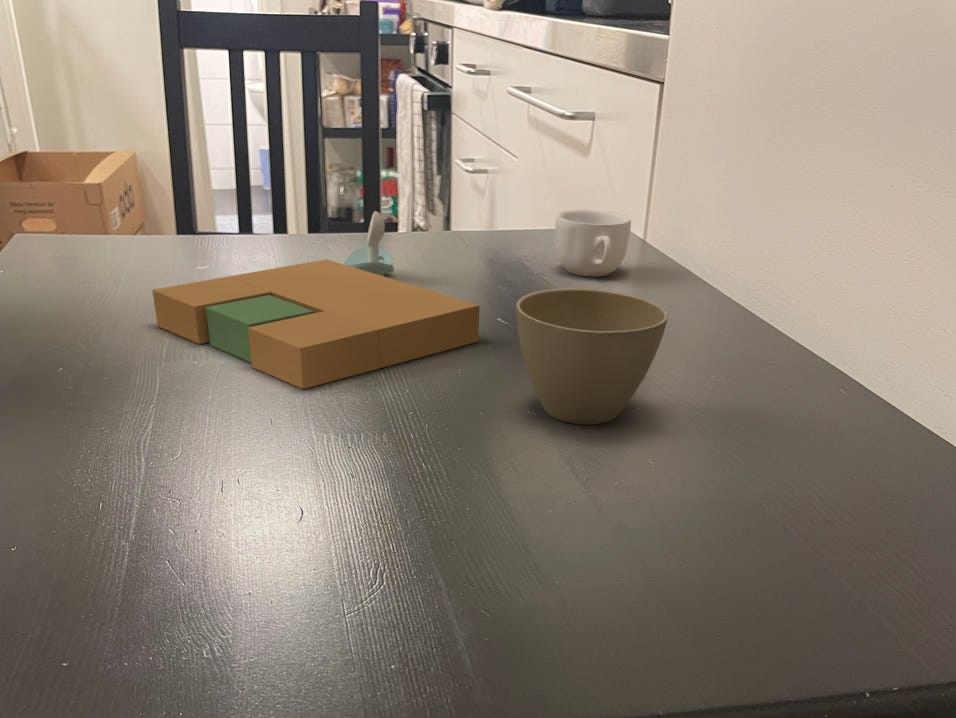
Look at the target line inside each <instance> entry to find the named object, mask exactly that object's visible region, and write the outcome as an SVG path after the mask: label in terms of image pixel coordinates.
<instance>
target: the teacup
mask: <svg viewBox="0 0 956 718" xmlns="http://www.w3.org/2000/svg"><path fill="white" fill-rule="evenodd" d="M554 223H555V225H554V239H555V240H554V247H555V253H556V257H557V259H558V261H559V263H560V265H561V266H562V267H563V268H564V269H565V270H566V271H567V272H568V273H570V274H572V275H576V276H580V277H581V276H582V277H604V276H608V275H610V274H611V273H613V272H614V271H616V270H617V269H618V268H619V267H620V265H621V264H622V262H623V261H624V259H625V256H626V253H627V251H628V246H629V241H630V236H631V235H630V234H631V230H632V229H631V228H632V220H631V218H630V216H628V215H625V214H622V213H619V212H615V211H608V210H599V209H570V210H563V211H560V212H558V213H557V214H556V217H555V222H554Z"/></svg>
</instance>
